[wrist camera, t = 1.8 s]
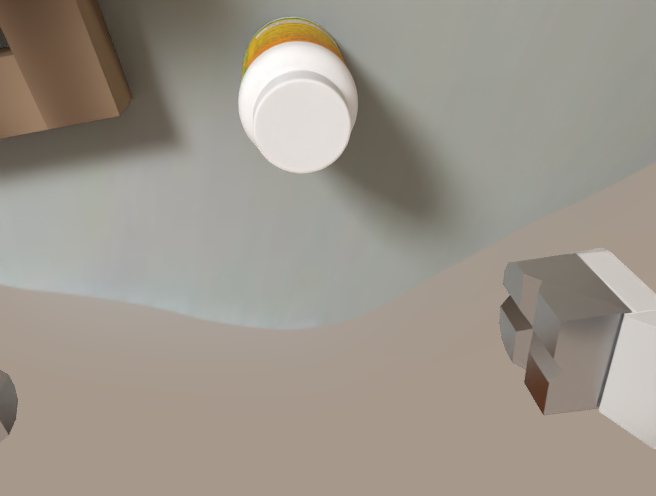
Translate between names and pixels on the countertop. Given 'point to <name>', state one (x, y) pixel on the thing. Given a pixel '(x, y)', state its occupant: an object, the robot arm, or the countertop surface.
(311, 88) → the supplement bottle
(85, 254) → the countertop surface
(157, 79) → the countertop surface
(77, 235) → the countertop surface
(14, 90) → the socket dock
